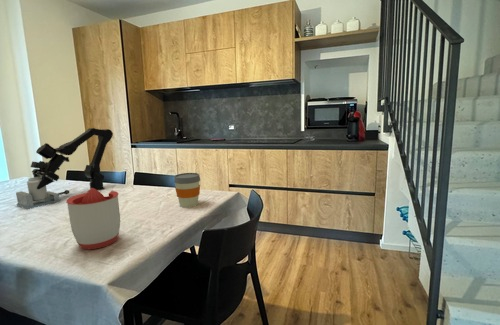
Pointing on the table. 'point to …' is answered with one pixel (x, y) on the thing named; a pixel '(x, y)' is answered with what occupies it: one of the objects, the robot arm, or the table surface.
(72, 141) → the robot arm
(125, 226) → the table surface
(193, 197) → the reusable coffee cup
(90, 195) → the citrus juicer
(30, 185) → the can
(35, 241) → the table surface
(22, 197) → the vise
